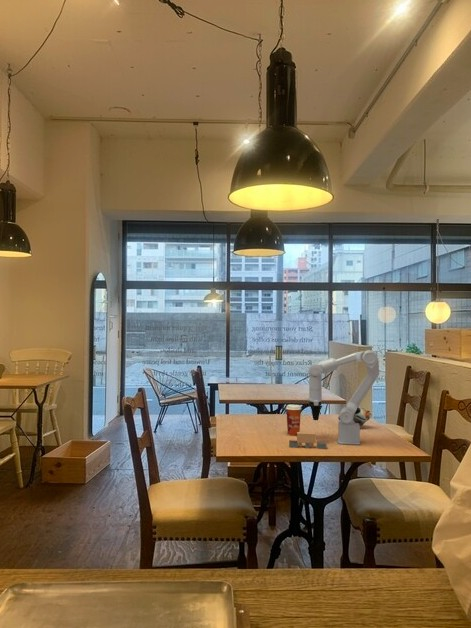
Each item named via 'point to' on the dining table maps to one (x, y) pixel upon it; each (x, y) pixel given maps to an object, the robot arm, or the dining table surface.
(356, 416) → the lucky cat figurine
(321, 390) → the robot arm
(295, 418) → the paper cup
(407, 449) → the dining table surface
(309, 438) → the tan rectangular block
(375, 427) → the dining table surface
